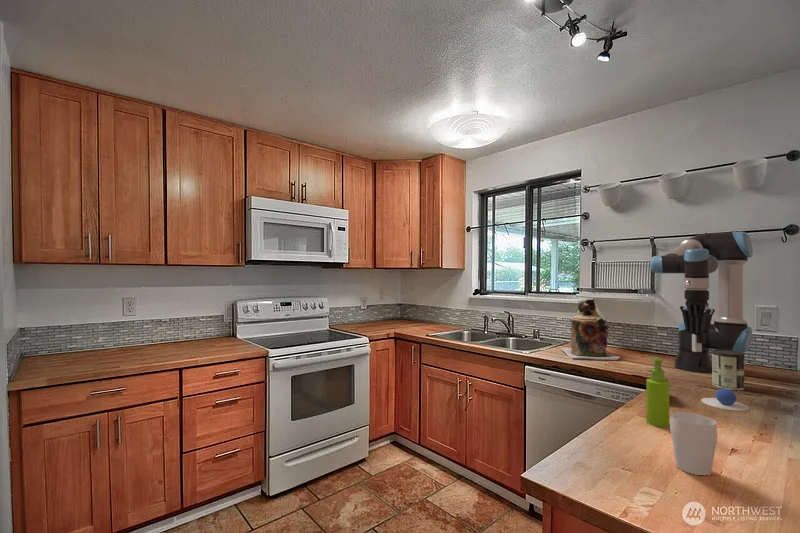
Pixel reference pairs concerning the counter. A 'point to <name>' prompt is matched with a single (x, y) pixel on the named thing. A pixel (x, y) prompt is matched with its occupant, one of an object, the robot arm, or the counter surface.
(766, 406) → the counter surface
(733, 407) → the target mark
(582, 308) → the cookie jar
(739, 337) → the robot arm
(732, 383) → the coffee can
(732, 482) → the counter surface
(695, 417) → the cup
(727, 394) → the ball
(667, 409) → the soap dispenser
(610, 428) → the counter surface
